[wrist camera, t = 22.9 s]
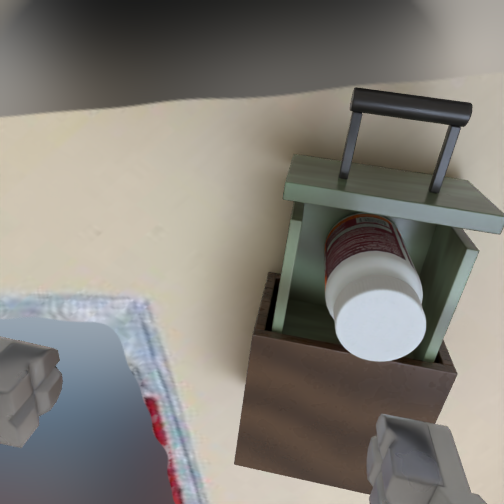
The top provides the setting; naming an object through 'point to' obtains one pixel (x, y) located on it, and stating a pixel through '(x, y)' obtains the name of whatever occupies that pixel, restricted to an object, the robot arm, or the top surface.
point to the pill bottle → (373, 288)
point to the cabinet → (326, 402)
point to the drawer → (392, 208)
